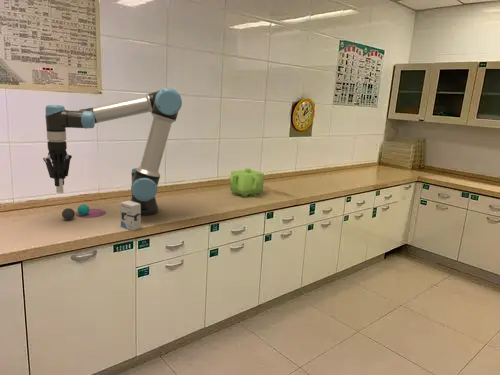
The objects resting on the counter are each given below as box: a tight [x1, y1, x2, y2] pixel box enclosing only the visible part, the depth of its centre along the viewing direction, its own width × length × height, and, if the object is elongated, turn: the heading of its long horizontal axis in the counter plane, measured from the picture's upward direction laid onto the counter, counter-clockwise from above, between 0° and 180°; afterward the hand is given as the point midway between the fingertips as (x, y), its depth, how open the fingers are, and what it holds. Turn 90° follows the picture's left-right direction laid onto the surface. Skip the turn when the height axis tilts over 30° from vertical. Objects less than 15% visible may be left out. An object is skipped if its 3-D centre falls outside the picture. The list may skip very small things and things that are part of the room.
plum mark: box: [75, 208, 107, 218], centre depth 191 cm, size 14×14×1 cm
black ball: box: [61, 207, 76, 221], centre depth 179 cm, size 6×6×6 cm
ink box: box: [120, 200, 142, 231], centre depth 173 cm, size 8×5×12 cm, turn 56°
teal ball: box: [76, 203, 91, 216], centre depth 186 cm, size 6×6×6 cm
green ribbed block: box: [229, 168, 265, 198], centre depth 246 cm, size 25×23×17 cm
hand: (60, 192), depth 173 cm, fingers closed
